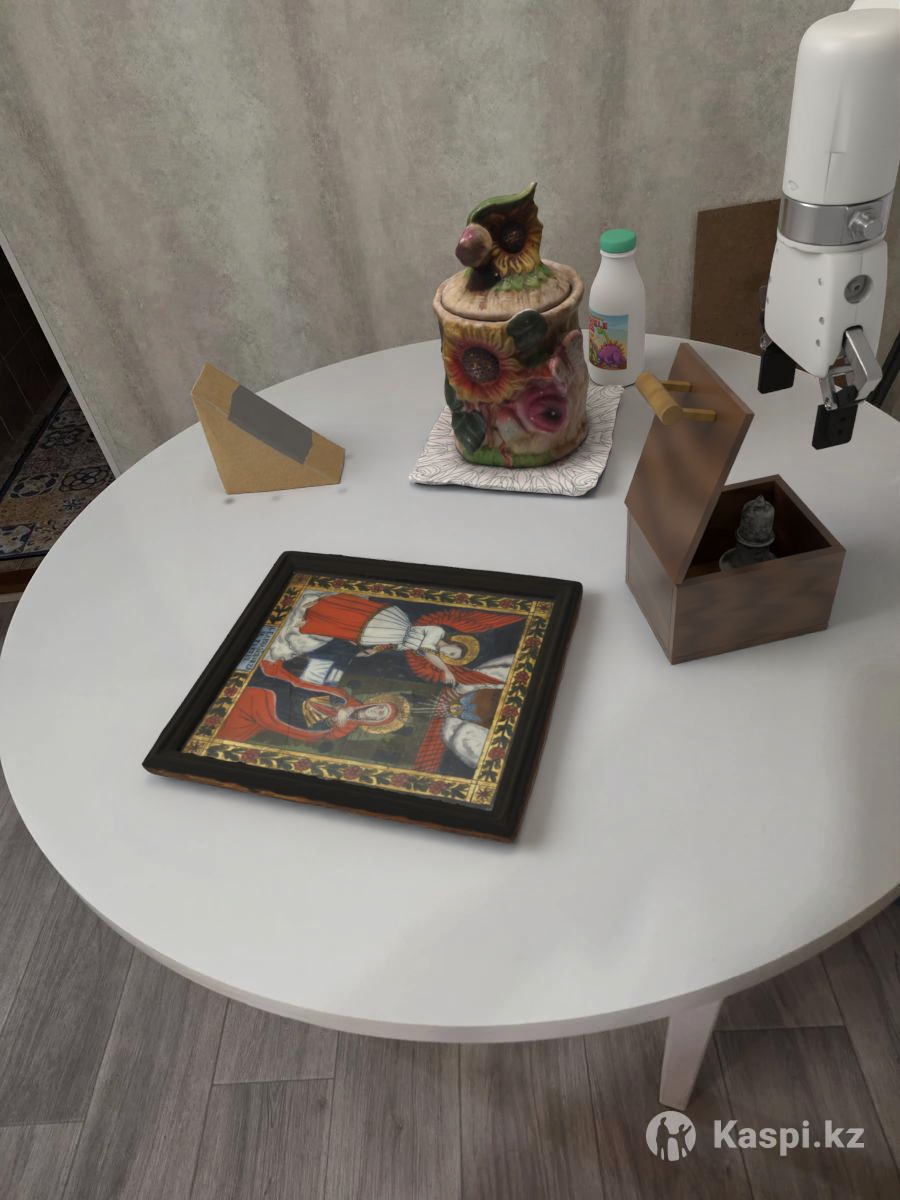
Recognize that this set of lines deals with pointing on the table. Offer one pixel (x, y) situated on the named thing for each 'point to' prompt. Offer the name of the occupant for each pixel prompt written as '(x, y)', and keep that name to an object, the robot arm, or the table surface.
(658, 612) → the bin
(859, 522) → the table surface
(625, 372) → the milk bottle
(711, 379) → the bin lid
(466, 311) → the cookie jar
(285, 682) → the framed painting
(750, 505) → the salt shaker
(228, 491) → the sandwich container
